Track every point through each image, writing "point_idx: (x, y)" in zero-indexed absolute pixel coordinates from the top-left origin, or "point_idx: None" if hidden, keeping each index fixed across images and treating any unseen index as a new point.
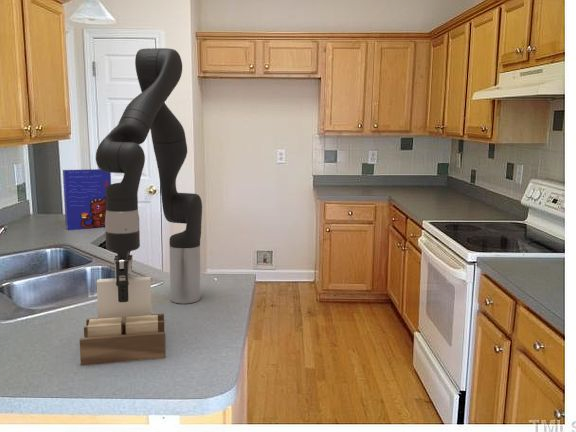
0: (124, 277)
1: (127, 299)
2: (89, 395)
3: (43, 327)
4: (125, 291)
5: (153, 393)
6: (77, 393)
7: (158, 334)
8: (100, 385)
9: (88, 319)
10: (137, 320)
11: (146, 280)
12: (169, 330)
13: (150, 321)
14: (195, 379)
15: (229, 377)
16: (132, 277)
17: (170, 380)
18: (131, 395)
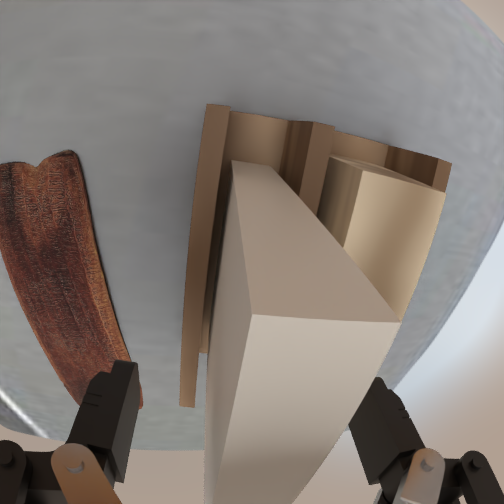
0: (119, 461)
1: (381, 386)
2: (438, 326)
3: (62, 403)
4: (414, 433)
5: (494, 214)
6: (419, 345)
7: (444, 188)
8: (418, 311)
9: (188, 403)
10: (388, 279)
11: (378, 358)
12: (125, 81)
13: (427, 224)
14: (488, 112)
15: (498, 45)
16: (223, 463)
17: (473, 165)
18: (479, 255)
